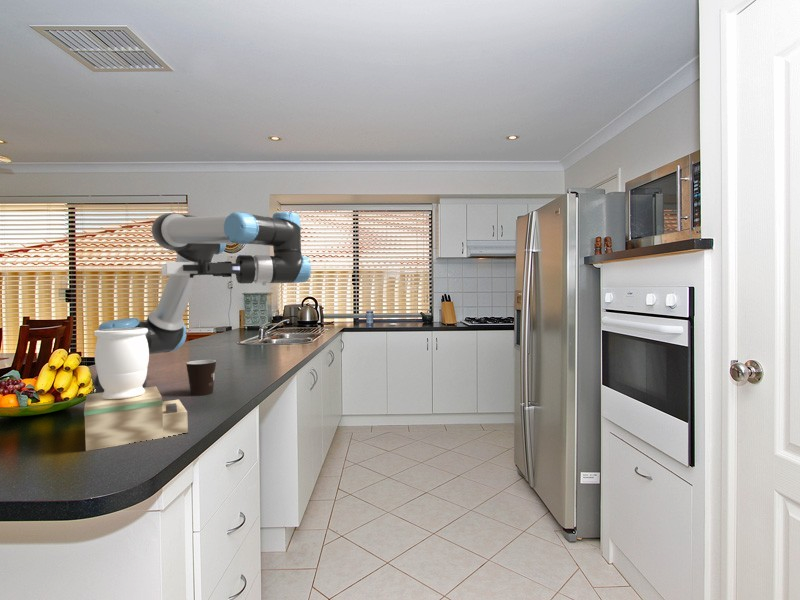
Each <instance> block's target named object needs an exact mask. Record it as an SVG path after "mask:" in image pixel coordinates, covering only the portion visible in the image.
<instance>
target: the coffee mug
mask: <svg viewBox="0 0 800 600" xmlns="http://www.w3.org/2000/svg"><path fill="white" fill-rule="evenodd" d="M185 364H186V371H187V376H188V383H189V384H188V385H189V390H190V395H191V396H192V395H193V396H194V397H198V396H199V397H200V396H203V397H204V396H209V395H212V394H213V393H214V387H215V375H216V366H217V361H216V359H198V360H197V359H196V360H191V361H186V363H185ZM193 396H192V397H193Z"/></svg>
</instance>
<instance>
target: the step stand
mask: <svg viewBox="0 0 800 600" xmlns="http://www.w3.org/2000/svg"><path fill="white" fill-rule="evenodd" d="M144 390H145V393H144V394H142V395H139V396H136V397H131V398H125V399H104V398H102V394H103V392H102V393H87V394H86V398H85V403H84V409H83V416H84V431H85V433H84V434H85V436H84V437H85V439H84V440H85V452H89V451H94V450H100V449H106V448H111V447H112V448H113V447H118V446H123V445H129V443H130V444H134V442H136V443H141V442H140V441H142V442H147V441H153V440H156V439H157V440H159V439H163V437H165V438H169V437H168V436H171V437H174V436H173V435H176V436H179V435H178V434H182V433H187V432H188V433H189V429H188V428H189V426H188V424H189V423H188V419H189V418H188V411H187V409H186V408H185V406H184V405H183V403H182V402H181V400H180V399H178V398H177V399H174V400H164V401H163V397H162V395H161V393H160V391H159V389H158V387H157V386H147V387H145V388H144ZM182 435H183V434H182ZM152 439H153V440H152ZM146 440H147V441H146Z"/></svg>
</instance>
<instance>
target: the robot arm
mask: <svg viewBox="0 0 800 600" xmlns="http://www.w3.org/2000/svg"><path fill="white" fill-rule="evenodd" d="M300 219H301V218H300V216H299V214H297V213H296V212H292V211H290V212H289V211H278V212H274V213H273V214H272V217H271V216H262V215H256V214H251V213H248V212H239V211H238V212H237V211H236V212H235V211H234V212H231V213H230V214H225V215H224V214H223V215H204V216H201V215H199V216H198V215H197V216H196V215H190V214H183V213H176V212H172V213H171V212H169V213H163V214H161V215H159V216H158V217H157V218H155V220H154V221H153V223H152V226H151V234H152V237H153V240H155V242H156V243H157V245H159V246H161V247H162V248H164V249H166V250H169V251H173V252H175V253H176V258H175V261H166V264H161V276H162V277H163V276H168V279H167V281H166V284H165V285H164V289H163V291H162V294H161V296H160V299H159V301H158V304H157V306H156V309H154V310H152V311H150V312H149V314H148V316H147V318H146V320H144V321H143V320H142V321H141V320H140V319H139V318H138V317H127V318H126V317H125V318H119V319H113V320H107V321H105V322H102V323H100V324H99V326H98V328H97V330H103V329H112V328H132V327H139V328H148V333H146V339H147V342H148V348H149V355H153V354H154V355H155V354H161V353H165V354H166V353H170V352H173V351H177V350H179V349H180V348H181V347H183V345H184V344H185V343H186V338H187V336H188V335H187V333H186V332H187V326H186V324H185V322H184V319H183V316H184V314H185V311H186V309H187V306H188V304H189V302H190V299H191V297H192V295H193V293H194V289H195V287H196V285H197V283H198V281H199V278H200V276H213V277H223V278H230V277H232V275H235V277H236V281H237V283H238V284H253V283H255V284H262V286H266V285H267V284H296V283H306V282H307V281H308V280H310V277H311V273H312V265H311V260H310V259H309V257H307V256H304V255H303V254H302V236H301V233H302V227H301V221H300ZM230 244H236V245H237V244H238V245H245V244H246V245H257V246H258V245H259V246H260V245H261V246H269V247H270V246H271V247H273V255H267V254H266V255H263V254H262V255H257V254H256V255H253V256H252V255H249V254H245V255H244V254H243V255H242V254H239V255H237V256H236V259H235V263H232V261H217V262H212V260H213V258H214V255H219V254H222V253H223V252H224V251H225V249H226V247H227V245H230ZM147 383H148V381H147V378H146V379H145V382H144V384H143V385H142V387H143V388H145V387H148V384H147ZM93 385H94V387H95V389H96V393H102V392H104V389H103V388H102V386H101V384H100V382H99V378H98V373H96V376H95V379H94V381H93Z"/></svg>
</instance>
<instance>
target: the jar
mask: <svg viewBox="0 0 800 600" xmlns="http://www.w3.org/2000/svg"><path fill="white" fill-rule="evenodd" d="M146 333H148V328H139V327H132V328H112V329H103V330H98V329H97V330H94V333H93V334H94V336H95V337H96V338H97V339H96V342H95V346H94V347H95V350H94V363H95V364H94V365H95V369H96V372H97V373H98V378H99V382H100V384H101V386H102V388H103V389H104V392H103V394H102V398H104V399H125V398H131V397H136V396H139V395H142V394H144V393H145V390H144V388H143V387H142V385H143V384H144V382H145V379H146V380H147V374H148V366H149V361H150V360H149V359H150V354H149V348H148V342H147V339H146ZM97 373H96V374H97Z"/></svg>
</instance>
